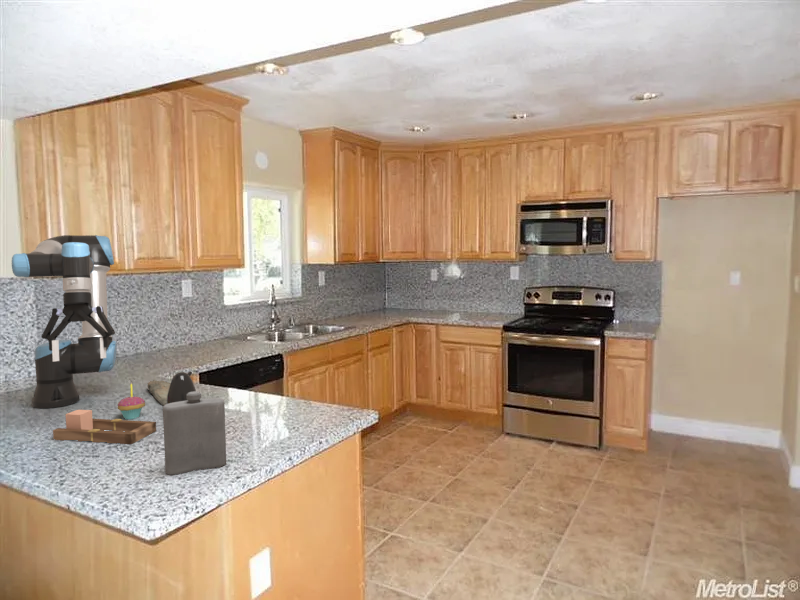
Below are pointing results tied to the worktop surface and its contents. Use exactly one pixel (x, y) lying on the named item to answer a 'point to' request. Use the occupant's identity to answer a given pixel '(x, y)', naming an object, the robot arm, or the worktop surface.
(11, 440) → the worktop surface
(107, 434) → the slotted beam
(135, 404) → the cupcake
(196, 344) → the worktop surface
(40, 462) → the worktop surface
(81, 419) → the block
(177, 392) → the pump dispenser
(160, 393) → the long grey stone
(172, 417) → the flask
